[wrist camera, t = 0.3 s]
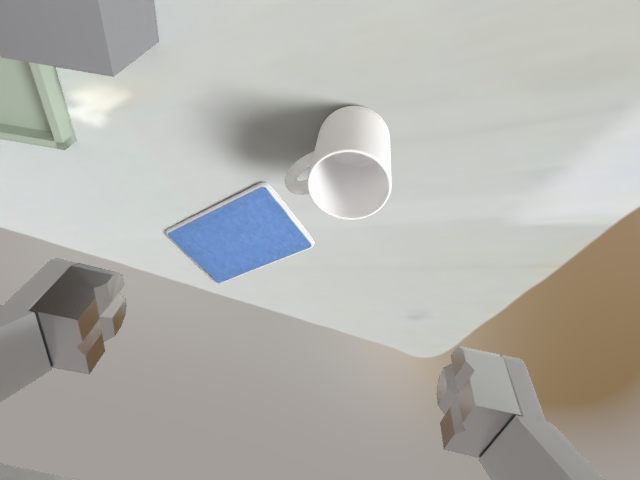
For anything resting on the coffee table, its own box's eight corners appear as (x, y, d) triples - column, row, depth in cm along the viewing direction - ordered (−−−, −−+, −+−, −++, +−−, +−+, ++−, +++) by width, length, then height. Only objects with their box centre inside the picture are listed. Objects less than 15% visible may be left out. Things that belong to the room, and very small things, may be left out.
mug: (305, 181, 54) (292, 234, 46) (279, 124, 49) (259, 172, 42) (397, 158, 50) (400, 210, 43) (379, 93, 45) (378, 139, 38)
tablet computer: (219, 280, 70) (217, 286, 69) (164, 228, 63) (161, 233, 62) (317, 241, 61) (316, 247, 60) (266, 176, 55) (264, 182, 54)
